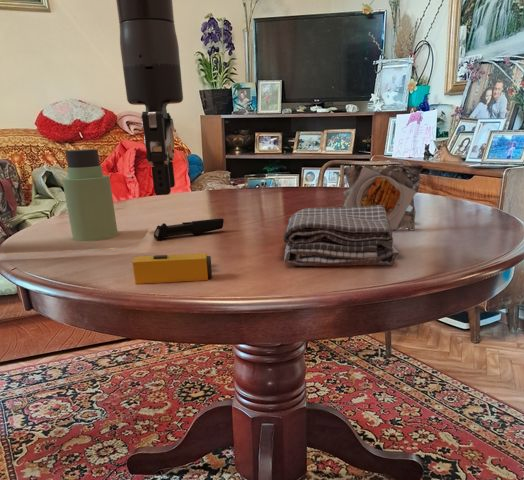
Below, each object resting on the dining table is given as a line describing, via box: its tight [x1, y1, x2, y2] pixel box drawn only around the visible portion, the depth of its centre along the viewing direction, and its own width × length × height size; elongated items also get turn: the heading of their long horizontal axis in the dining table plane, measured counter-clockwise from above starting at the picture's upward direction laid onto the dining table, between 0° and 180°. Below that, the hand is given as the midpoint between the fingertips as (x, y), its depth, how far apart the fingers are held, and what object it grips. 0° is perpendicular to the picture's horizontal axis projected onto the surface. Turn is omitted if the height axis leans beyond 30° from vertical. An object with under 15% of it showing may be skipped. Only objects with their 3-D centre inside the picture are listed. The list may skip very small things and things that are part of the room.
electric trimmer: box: [153, 217, 225, 241], centre depth 109 cm, size 4×16×3 cm, turn 117°
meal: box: [341, 164, 424, 230], centre depth 105 cm, size 15×4×13 cm, turn 90°
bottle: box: [61, 148, 119, 242], centre depth 102 cm, size 9×9×18 cm
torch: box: [132, 252, 213, 285], centre depth 78 cm, size 12×3×4 cm, turn 95°
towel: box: [282, 205, 399, 267], centre depth 87 cm, size 15×18×8 cm
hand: (165, 190), depth 74 cm, fingers open, 8 cm apart
